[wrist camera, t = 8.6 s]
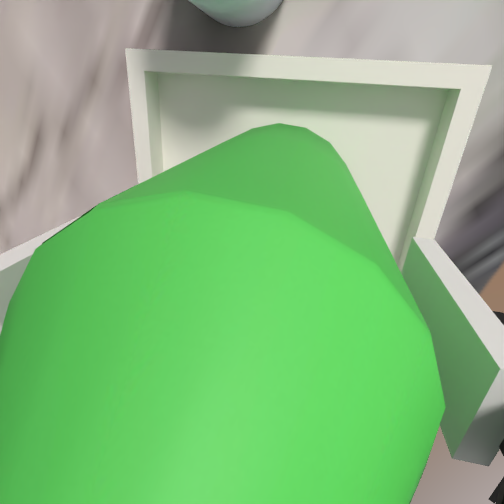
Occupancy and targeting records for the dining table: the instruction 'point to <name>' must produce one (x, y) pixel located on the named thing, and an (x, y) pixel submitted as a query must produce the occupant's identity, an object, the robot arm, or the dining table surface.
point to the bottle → (219, 343)
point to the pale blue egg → (237, 10)
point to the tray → (317, 120)
